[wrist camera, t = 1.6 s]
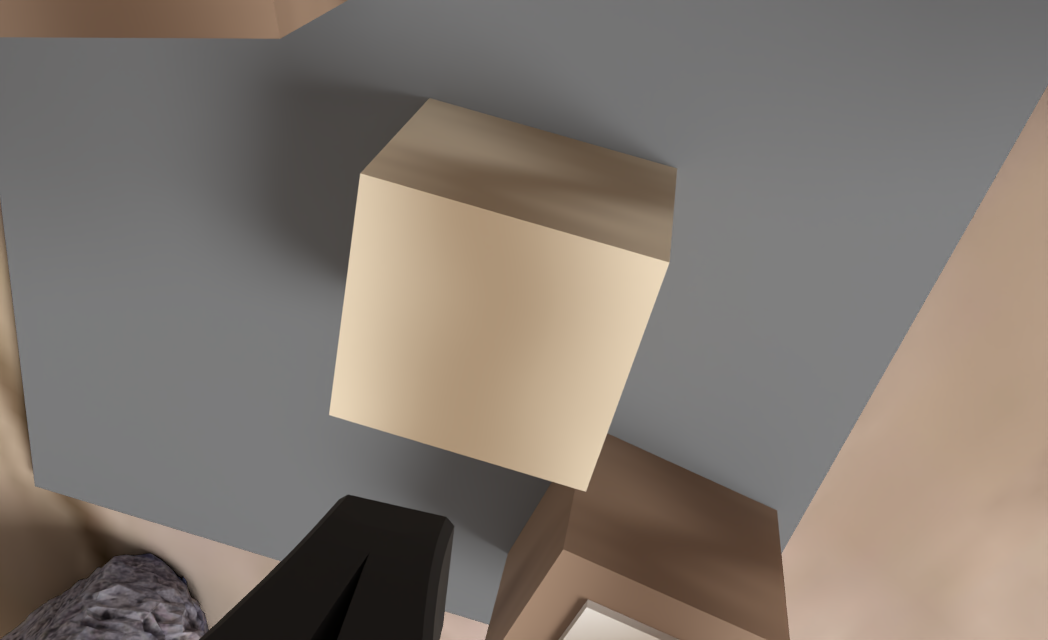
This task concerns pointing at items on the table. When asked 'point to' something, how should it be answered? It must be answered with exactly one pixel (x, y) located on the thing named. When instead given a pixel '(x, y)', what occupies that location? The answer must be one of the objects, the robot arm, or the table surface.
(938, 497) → the table surface
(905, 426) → the table surface
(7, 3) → the walnut block
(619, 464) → the walnut block
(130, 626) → the pumice stone
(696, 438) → the slate mat
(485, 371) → the plain block
